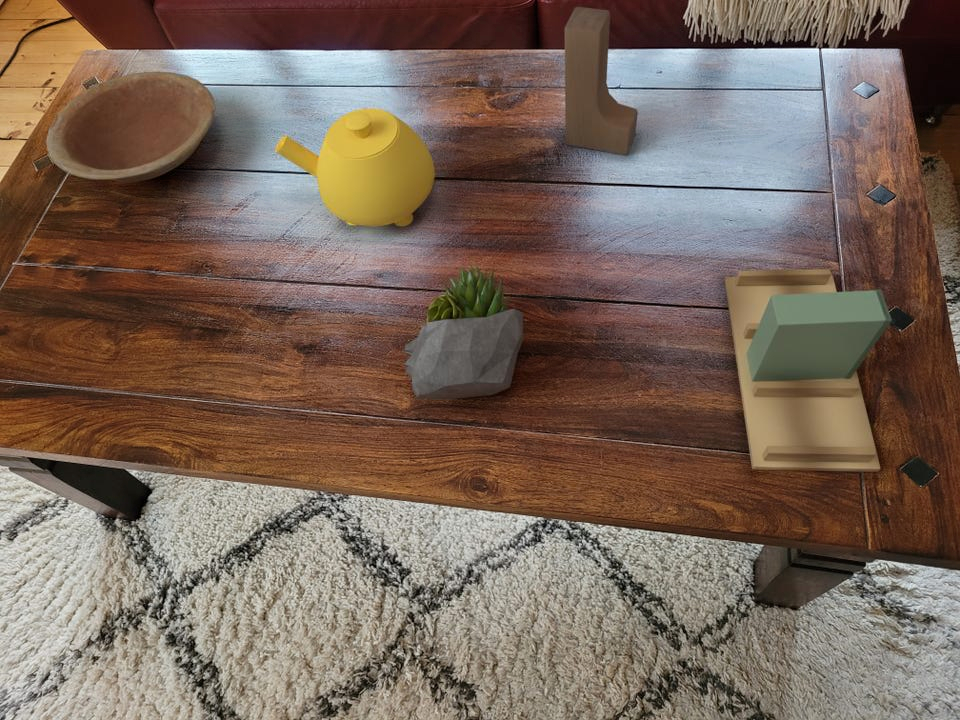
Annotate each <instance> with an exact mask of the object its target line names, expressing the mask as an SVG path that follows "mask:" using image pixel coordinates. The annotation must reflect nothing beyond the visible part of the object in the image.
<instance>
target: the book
mask: <svg viewBox="0 0 960 720" xmlns="http://www.w3.org/2000/svg"><path fill="white" fill-rule="evenodd" d="M892 321H893V319H892V316H891V314H890V311H889V308H888V305H887V302H886V299H885V296H884V294H883V291H882V289H874V290H873V289H872V290H854V291H853V290H852V291H837V292H829V293H808V294H786V295H771V297H770V300H769V302H768V304H767V307H766V309H765V311H764V314H763V316H762V318H761V321H760V323H759V326H758V328H757V330H756V333H755V335H754V337H753V340H752V342H751V344H750V347H749V349H748V351H747V354H746V355H747V360H748V365H749V370H750V374H751V379H752V381H780V380H809V379H838V378H845V379H850V378H851V377H852V376H853V374H854V373H855V371H857V370H858V369H859V367H860V366H861V365H862V363H863V361H864V360H865V359H866V358H867V357H868V355H869V353H870V352H871V351H872V350H873V348H874V347H875V345H876V343H877V342H879V339H881V336H882V335H883V334H884V332H885V331H886V330H887V328H888V327H889V325H890V324H891V323H892Z"/></svg>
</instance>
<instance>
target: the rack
mask: <svg viewBox="0 0 960 720" xmlns="http://www.w3.org/2000/svg"><path fill="white" fill-rule="evenodd" d="M724 286H725V294H726V300H727V307H728V314H729V315H728V316H729V321H730V327H731V328H730V329H731V335H732V339H733V340H732V341H733V348H734V355H735V362H736V368H737V375H738V383H739V388H740V389H739V390H740V395H741V396H740V397H741V402H742V411H743V415H744V423H745V429H746V430H745V431H746V436H747V444H748V450H749V457H750V465H751V469H752V470H753V471H755V470H756V471H757V470H759V471H766V470H768V471H808V472H810V471H812V472H813V471H814V472H815V471H816V472H817V471H818V472H821V471H822V472H862V473H863V472H864V473H865V472H867V473H869V472H872V473H878V472H880V470H881V464H880V460H879V456H878V452H877V448H876V444H875V440H874V437H873V436H874V435H873V432H872V428H871V424H870V420H869V416H868V413H867V407H866V404H865V400H864V396H863V391H862V388H861V384H860V379H859V376H858V372H857V370H856V371H855V373H854V374H853V376H852V377H851V378H850V379H845V378H838V379H809V380H780V381H752V379H751V374H750V370H749V365H748V360H747V355H746V354H747V351H748V349H749V347H750V344H751V342H752V340H753V337H754V335H755V333H756V330H757V328H758V326H759V323H760V321H761V318H762V316H763V314H764V311H765V309H766V307H767V304H768V302H769V300H770V297H771V295H786V294H808V293H829V292H838V291H837V286H836V283H835V280H834V275H832V270H831V269H830V268H819V269H818V268H815V269H813V268H811V269H809V268H808V269H761V270H760V269H757V270H756V269H755V270H754V269H753V270H748V269H747V270H738V272H737V275H736V276H726V277H725V278H724Z"/></svg>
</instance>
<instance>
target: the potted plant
mask: <svg viewBox="0 0 960 720" xmlns="http://www.w3.org/2000/svg"><path fill="white" fill-rule="evenodd" d="M460 267H461V269H460V270H459V272H458V274H457V278H456V280H457V281H456V280H455V278H454V277H453V275H451V276H449V277H448V278H449V282H450V287H449V286H448V285H447V283H446V281H445V280H443V285H444V291H445V293H446V294H441V295H438V296H437V297H435V298H434V300H433V301H432V302H431V303H430V305H429V308H428V309H427V313H426V314H427V318H426V324H422V326H421V328H420V331H419V333H418V335H417V336H416V337H415V338H413V340H411V341H410V342H409V343H407V344H406V345H405V347H404V350H403V352H404V353H405V354H406V355H409V358H408V359H407V360H406V361H405V362H404V364H403V365H404V366H405V367H406V369H405V370H404V371H405V373H406V374H407V376H408V377H410V378H411V386H412V387H411V388H412V389H411V390H412V392H413V394H414V395H415V397H416V398H417V399H424V400H425V399H426V400H433V401H437V400H439V401H440V400H442V401H443V400H458V399H465V398H466V399H467V398H476V397H483V396H493V395H496V394H498V393H500V392H502V391H504V390H507V389H509V388H511V385H512V380H513V376H514V372H515V367H516V363H517V359H518V354H519V351H520V349H521V347H522V344H523V339H524V337H523V335H524V333H523V332H524V313H523V312H522V311H520V310H518V309H516V308H511V309H508V303H509V298H510V297H509V295H507V297H506V299H505V295H504V292H505V289H504V286H502V277H499V278H500V279H499V284H497V287H496V275H494V272H495V271H494V268H492V270H491V273H490V274H488V267H487V266H485V273H484V274H483V271H482V270H480V268H479V264H478V263H476V265H475V267H473V265H472V264H469V268H468V271H467V270H466V269H465V268H464V267H463V265H460Z"/></svg>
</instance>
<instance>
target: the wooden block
mask: <svg viewBox="0 0 960 720" xmlns="http://www.w3.org/2000/svg"><path fill="white" fill-rule="evenodd" d="M610 23H611V12H610V10H607V9H601V8H591V7H583V6H575V7H574V9H573V10H572V13H571V15H570V17H569V18H568V20H567V22H566V24H565V26H564V104H565V105H564V113H565V114H564V115H565V117H564V118H565V121H564V122H565V123H564V126H565V127H564V128H565V129H564V130H565V131H564V132H565V134H564V136H565V137H564V138H565V139H564V140H565V142H564V143H565V145H567V146H570V147H571V146H572V147H577V148H583V149H588V150H595V151H599V152H600V151H601V152H605V153H611V154H617V155H622V156H627V155H628V154H629V153H630V151H631V147H632V144H633V142H634V140H635V137H636V133H637V124H638V114H639V111H638V109H637V108H634V107H631V106H629V105H626V104H621V103H619V102H618V101H617V100H616V99H615V98H614V96H612V95H611V94H610V90H609V86H608V81H607V80H608V79H607V78H608V63H609V60H608V59H609V44H610V25H611V24H610Z"/></svg>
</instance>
